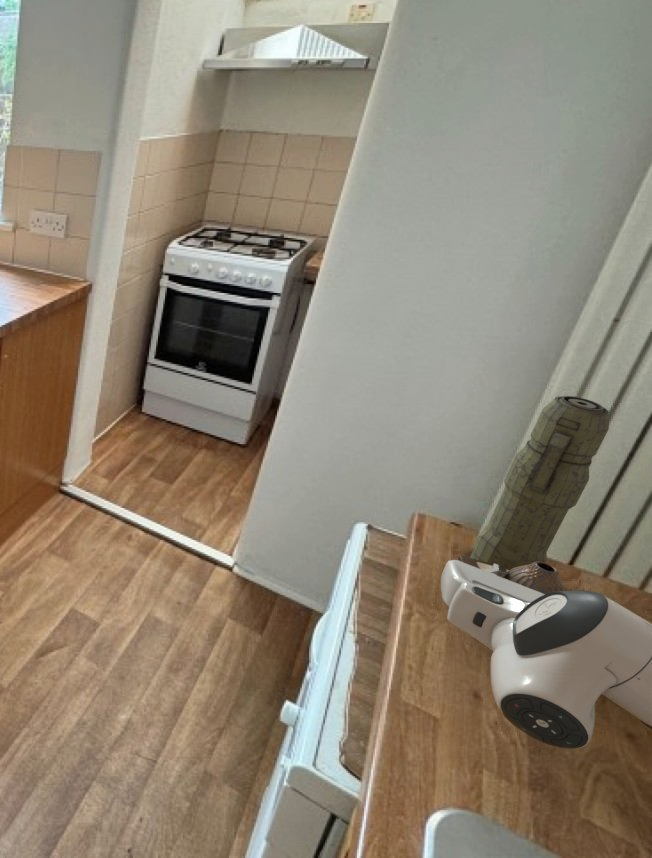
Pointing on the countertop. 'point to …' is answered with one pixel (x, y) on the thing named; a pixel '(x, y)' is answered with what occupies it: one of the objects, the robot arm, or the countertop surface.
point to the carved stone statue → (543, 483)
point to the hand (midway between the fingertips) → (535, 583)
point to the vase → (537, 577)
